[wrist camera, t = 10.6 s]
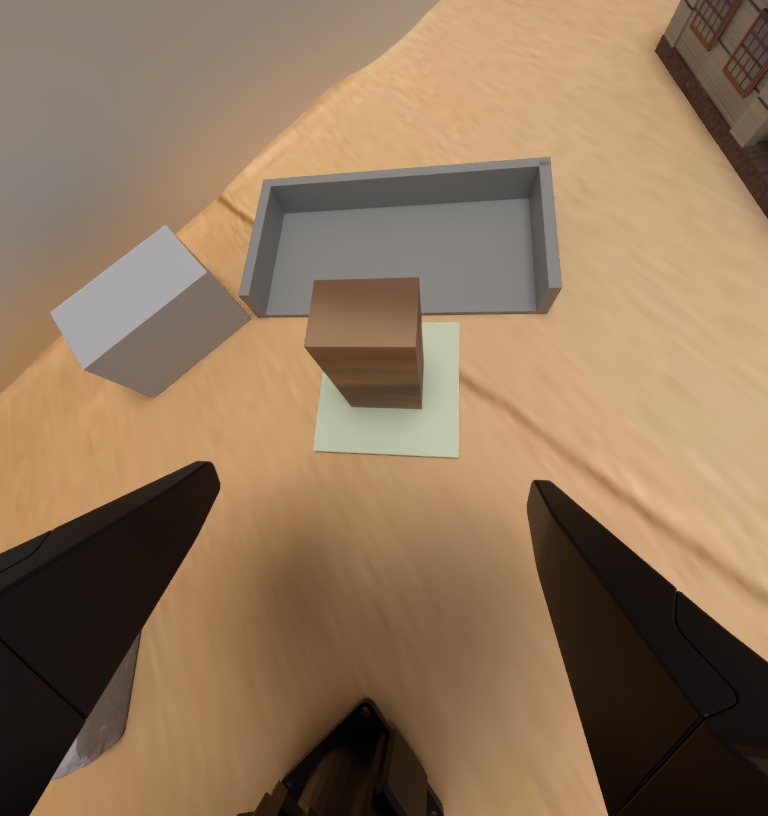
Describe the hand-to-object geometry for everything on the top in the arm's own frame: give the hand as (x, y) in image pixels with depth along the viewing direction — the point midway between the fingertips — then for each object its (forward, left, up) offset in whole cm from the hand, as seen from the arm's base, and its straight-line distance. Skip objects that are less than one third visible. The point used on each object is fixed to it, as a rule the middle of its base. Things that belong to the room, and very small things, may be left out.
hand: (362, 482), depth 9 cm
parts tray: (+12, +15, -14) cm, 23 cm away
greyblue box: (-5, +22, -14) cm, 26 cm away
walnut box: (+4, +7, -13) cm, 15 cm away
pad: (+4, +7, -14) cm, 16 cm away
